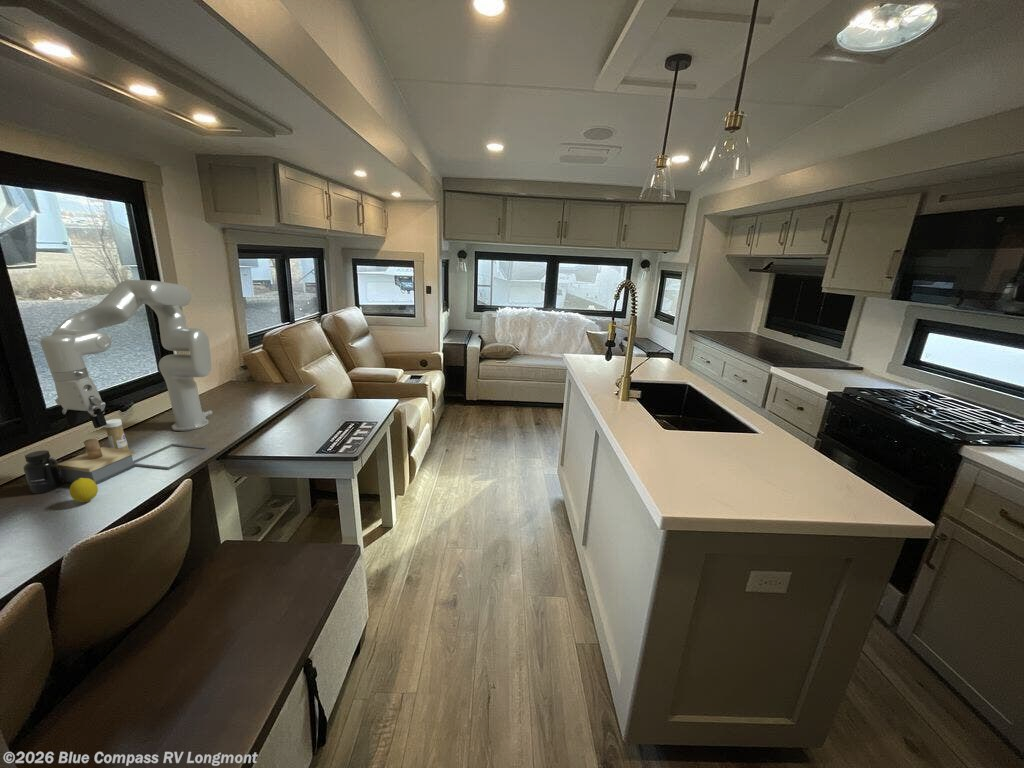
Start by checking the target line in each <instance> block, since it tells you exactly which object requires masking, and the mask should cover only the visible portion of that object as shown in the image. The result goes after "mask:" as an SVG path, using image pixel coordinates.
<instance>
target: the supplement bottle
mask: <svg viewBox="0 0 1024 768" xmlns="http://www.w3.org/2000/svg"><path fill="white" fill-rule="evenodd" d="M24 458H25V462H26V463H25V464H24V466H23V467H22V469H23V472H24V475H25V478H26V480H27V483H28V486H29V489H30V492H32V493H33V494H46V493H49V492H53V491H55V490H58V489H59V488H61V487H62V486H63V485H64V480H63V477H62V474H61V472H60V469H59V466H58V460H57V459H56V458H53V457H51V454H50V451H49V450H47V449H45V450H44V449H42V450H37V451H32V452H29V453H27V454H25V455H24Z"/></svg>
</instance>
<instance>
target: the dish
mask: <svg viewBox="0 0 1024 768" xmlns="http://www.w3.org/2000/svg"><path fill="white" fill-rule="evenodd" d="M133 461H134V459H133V454H132V455H130V456H128V457H125V458H123V459H120V460H118V461H116V462H113V463H111V464H108V465H106V466H104V467H101V468H99V469H96V470H94V471H92V472H84V471H77V470H69V469H61V468H59V469H60V473H61V476H62V479H63V483H64V482H66V483H71V484H72V483H73V482H74V481H76V480H78V479H79V478H89V479H91V480H93V481H94V482H95V483H96V485H97V486H98V485H99V484H101V483H103V482H106V481H108V480H111V479H112V478H115V477H117V476H119V475H121V474H123V473H125V472H128V471H130V470H133V469H134V468H136V466H134V462H133Z"/></svg>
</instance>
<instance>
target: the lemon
mask: <svg viewBox="0 0 1024 768" xmlns="http://www.w3.org/2000/svg"><path fill="white" fill-rule="evenodd" d="M98 492H99V488H98V484H97V485H96V483H95V482H94V481H93V480H91V479H89V478H79V479H78V480H76V481H74V482H73V483H72V482H71V484H70V487H69V494H70V497H71V498H72V499H73V500H74V501H76V502H81V503H82V502H83V503H89V502H90V501H91V500H93V499H94V498H95V497H96V496H97V494H98Z"/></svg>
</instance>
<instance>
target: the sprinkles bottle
mask: <svg viewBox="0 0 1024 768" xmlns="http://www.w3.org/2000/svg"><path fill="white" fill-rule="evenodd" d="M106 423H107V424H106V425H105V426H103V427H104V429H106V433H107V438H108V441H109V446H110V448H115V449H124V450H130V449H129V446H128V441H127V438H126V434H125V432H124V427H123V421H122V420H121V418H113V419H107V420H106Z"/></svg>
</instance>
